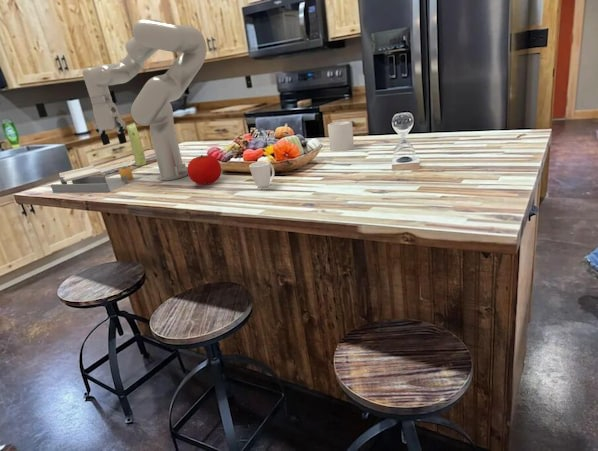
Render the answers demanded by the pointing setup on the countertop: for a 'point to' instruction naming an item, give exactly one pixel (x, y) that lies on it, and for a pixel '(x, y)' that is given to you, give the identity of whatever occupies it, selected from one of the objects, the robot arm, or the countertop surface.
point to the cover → (78, 174)
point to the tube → (136, 145)
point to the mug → (341, 136)
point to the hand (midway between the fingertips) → (115, 143)
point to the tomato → (204, 170)
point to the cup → (262, 174)
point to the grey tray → (92, 184)
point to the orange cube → (126, 173)
